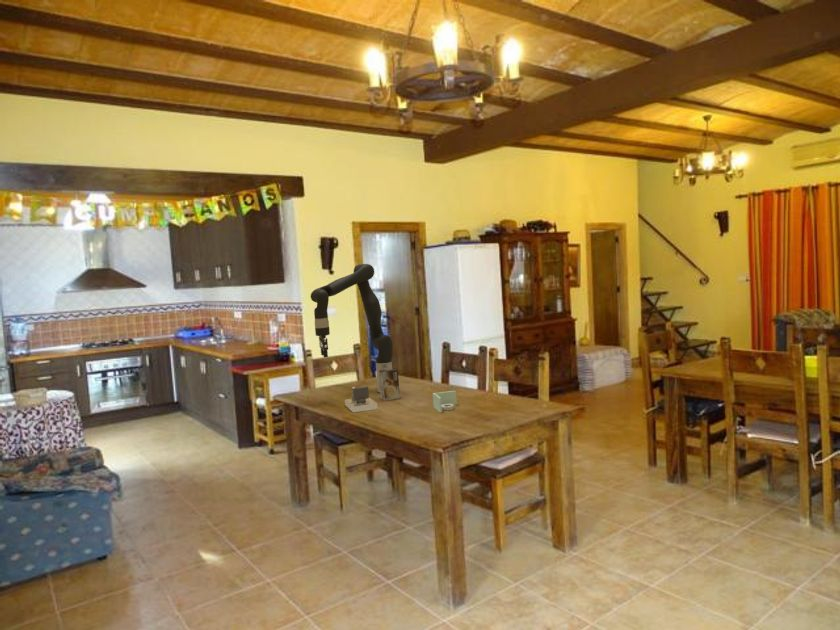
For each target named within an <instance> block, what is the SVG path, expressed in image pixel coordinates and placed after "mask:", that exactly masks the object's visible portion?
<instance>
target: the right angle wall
mask: <svg viewBox="0 0 840 630" xmlns="http://www.w3.org/2000/svg"><path fill="white" fill-rule="evenodd" d="M432 402H433V403H432V404H433V406H432V407H433V409H435V410H436V411H437V412H438V413H443V412H442V411H447V412H448V411H453V410H455V406H457V405H458V404H457V391H456V390H449V391H441V392H432Z"/></svg>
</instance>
